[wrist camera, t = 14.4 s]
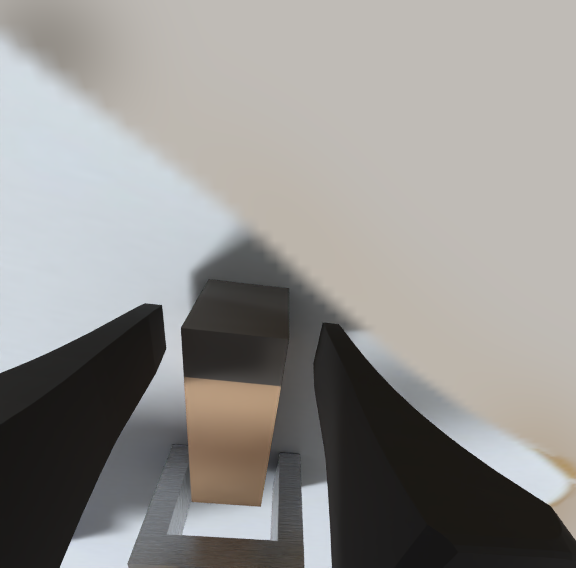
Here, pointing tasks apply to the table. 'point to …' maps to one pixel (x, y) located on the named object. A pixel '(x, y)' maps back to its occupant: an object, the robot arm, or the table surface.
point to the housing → (214, 550)
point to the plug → (233, 387)
